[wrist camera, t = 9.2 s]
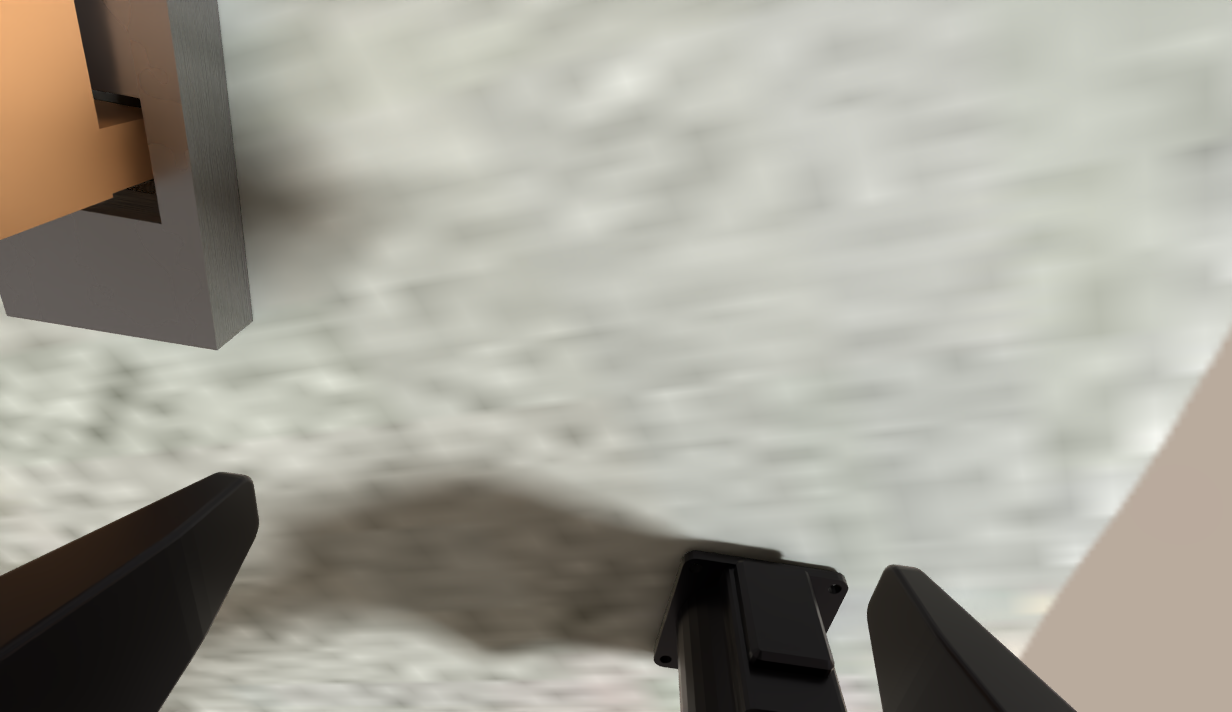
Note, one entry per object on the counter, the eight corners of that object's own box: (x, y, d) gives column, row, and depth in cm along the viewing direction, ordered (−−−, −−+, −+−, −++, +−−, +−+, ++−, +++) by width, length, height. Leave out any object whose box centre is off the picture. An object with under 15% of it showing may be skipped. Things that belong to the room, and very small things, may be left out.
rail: (252, 320, 21) (217, 350, 19) (61, 288, 21) (7, 315, 19) (174, -377, 13) (103, -435, 11) (-134, -445, 13) (-256, -515, 11)
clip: (174, 174, 19) (-8, 242, 13) (89, 158, 19) (-130, 221, 13) (129, -131, 15) (-142, -200, 10) (23, -153, 15) (-308, -234, 10)
